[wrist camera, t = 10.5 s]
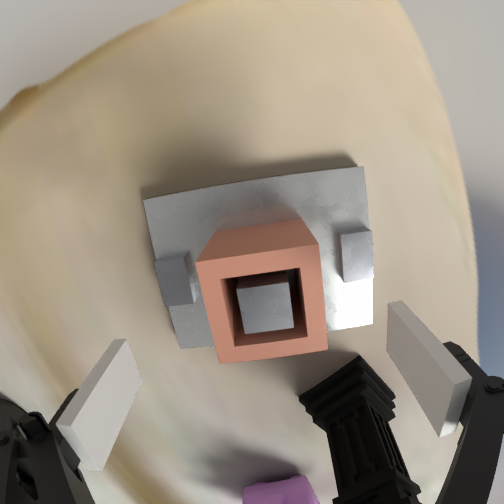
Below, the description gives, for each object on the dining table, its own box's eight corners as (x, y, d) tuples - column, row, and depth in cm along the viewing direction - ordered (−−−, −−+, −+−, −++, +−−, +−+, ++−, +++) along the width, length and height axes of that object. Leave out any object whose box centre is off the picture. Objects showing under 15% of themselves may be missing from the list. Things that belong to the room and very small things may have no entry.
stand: (183, 340, 31) (158, 404, 21) (148, 198, 27) (98, 218, 18) (367, 316, 29) (403, 374, 20) (358, 166, 26) (404, 170, 16)
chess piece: (393, 393, 32) (456, 534, 13) (338, 429, 34) (368, 573, 14) (359, 355, 31) (427, 523, 11) (298, 396, 32) (317, 566, 13)
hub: (230, 310, 28) (219, 363, 20) (214, 231, 26) (195, 262, 18) (311, 298, 27) (327, 349, 20) (301, 218, 25) (318, 243, 18)
